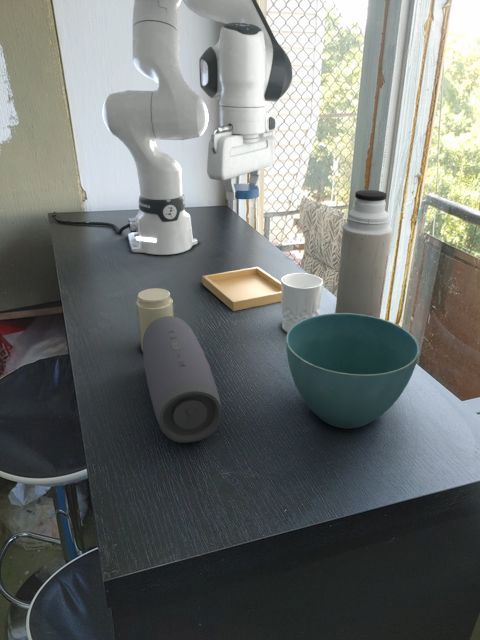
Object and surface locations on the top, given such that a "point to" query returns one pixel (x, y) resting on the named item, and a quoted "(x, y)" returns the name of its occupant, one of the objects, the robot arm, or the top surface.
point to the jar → (152, 308)
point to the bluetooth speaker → (180, 381)
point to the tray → (244, 288)
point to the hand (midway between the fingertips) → (242, 195)
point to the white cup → (299, 298)
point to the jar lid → (247, 191)
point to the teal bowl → (350, 366)
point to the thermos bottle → (364, 255)
